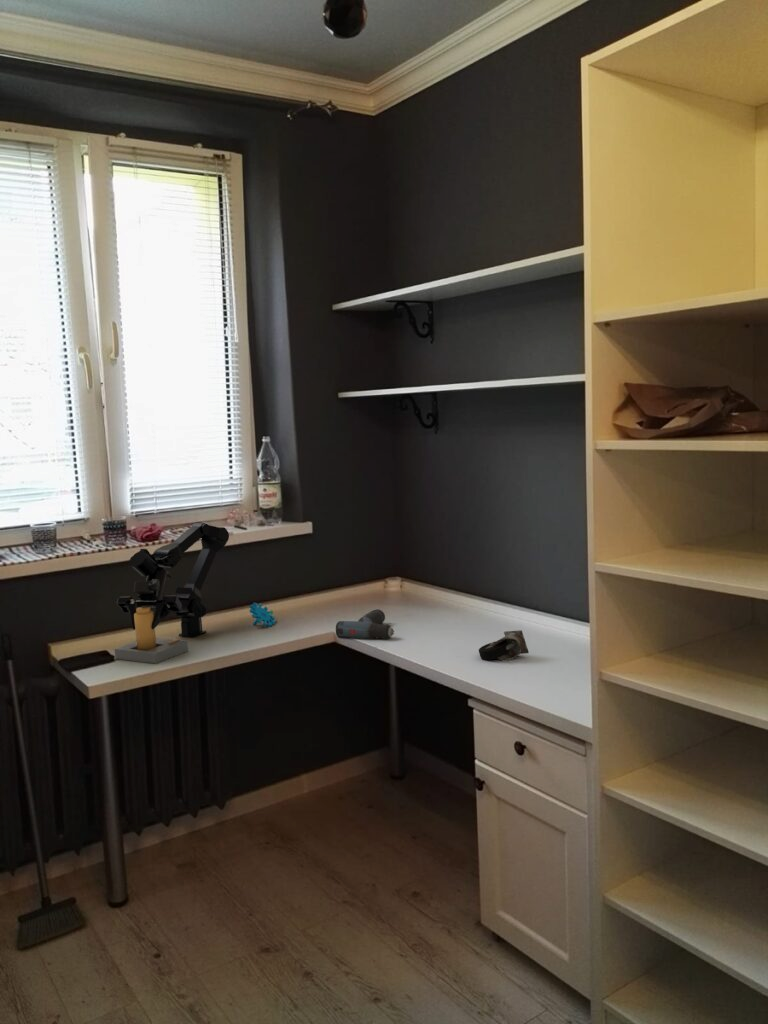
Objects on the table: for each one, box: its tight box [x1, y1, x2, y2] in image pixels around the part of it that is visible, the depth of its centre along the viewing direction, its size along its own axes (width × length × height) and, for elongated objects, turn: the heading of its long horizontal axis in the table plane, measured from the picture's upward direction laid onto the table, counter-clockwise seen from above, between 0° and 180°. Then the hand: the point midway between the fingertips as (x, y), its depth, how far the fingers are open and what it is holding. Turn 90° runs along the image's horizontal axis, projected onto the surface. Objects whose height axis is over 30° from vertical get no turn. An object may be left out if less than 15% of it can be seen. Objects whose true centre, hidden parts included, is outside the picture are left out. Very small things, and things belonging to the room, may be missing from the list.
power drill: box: [335, 608, 395, 640], centre depth 274 cm, size 5×19×20 cm
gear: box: [249, 602, 276, 627], centre depth 291 cm, size 11×6×10 cm
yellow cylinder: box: [134, 607, 157, 651], centre depth 259 cm, size 6×6×12 cm
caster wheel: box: [478, 629, 529, 662], centre depth 238 cm, size 7×11×10 cm
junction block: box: [114, 637, 189, 664], centre depth 261 cm, size 14×16×4 cm
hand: (143, 628), depth 257 cm, fingers closed on yellow cylinder, 6 cm apart
